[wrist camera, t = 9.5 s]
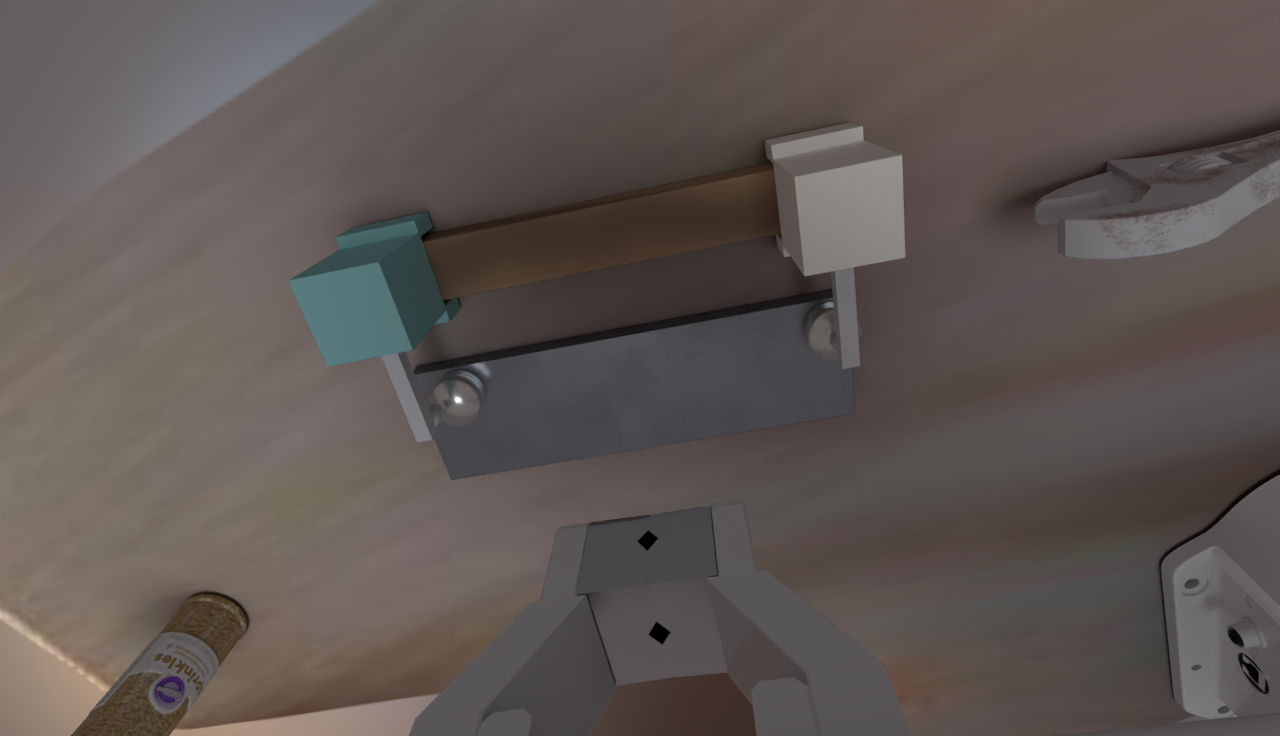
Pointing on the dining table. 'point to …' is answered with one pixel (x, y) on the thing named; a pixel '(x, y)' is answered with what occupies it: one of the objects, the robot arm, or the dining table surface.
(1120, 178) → the wrench
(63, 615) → the dining table surface
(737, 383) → the bolt plate
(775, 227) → the rail
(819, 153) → the fixed leg
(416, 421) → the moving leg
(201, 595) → the sprinkles bottle
